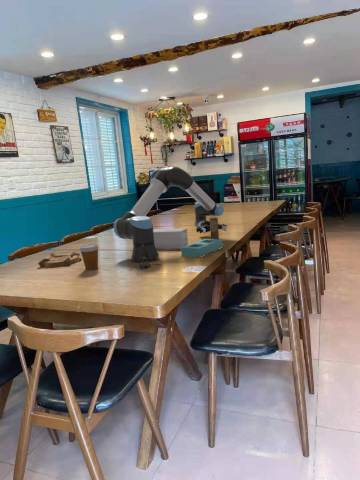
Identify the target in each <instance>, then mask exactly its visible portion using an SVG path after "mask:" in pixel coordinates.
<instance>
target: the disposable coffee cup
mask: <svg viewBox="0 0 360 480" xmlns="http://www.w3.org/2000/svg"><path fill="white" fill-rule="evenodd" d="M79 248H80V249H79V251H80V255H81V258H82V261H83V264H84V267H85V270H87V271H91V270H96V269H98V268H99V245H98V244H95V243H94V244H86V245H82V246H80V247H79Z"/></svg>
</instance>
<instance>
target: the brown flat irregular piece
mask: <svg viewBox="0 0 360 480" xmlns="http://www.w3.org/2000/svg"><path fill="white" fill-rule="evenodd" d="M49 255H50V256H46V257H44V258H43V259H41V260H40V261H38V263H37V264H38V266H39V267H40V268H41V269H43V268H46V269H48V268H62V267H68V266H72V265H75V264H77V263H79V262H80V261H82V258H81V257H80V256H81V252H76V251H75V252H74V251H73V252H72V253H65V254H64V253H63V254H56V253H55V252H51V253H50V254H49Z"/></svg>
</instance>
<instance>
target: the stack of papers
mask: <svg viewBox="0 0 360 480" xmlns="http://www.w3.org/2000/svg"><path fill="white" fill-rule="evenodd" d="M153 233H154V244H155V247H156V249H181V247H183V246H186V245H187V244H188V245H189V237H188V228H187V227H186V228H185V227H184V228H157V229H156V228H153Z"/></svg>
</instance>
